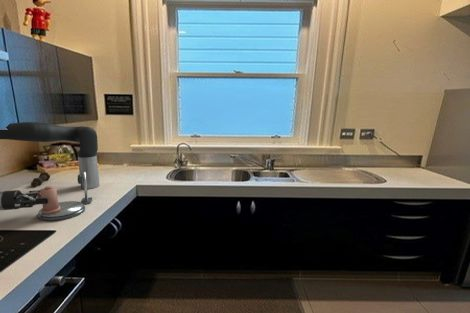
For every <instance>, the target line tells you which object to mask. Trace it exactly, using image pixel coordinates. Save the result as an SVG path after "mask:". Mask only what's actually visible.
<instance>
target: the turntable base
mask: <svg viewBox="0 0 470 313" xmlns="http://www.w3.org/2000/svg"><path fill="white" fill-rule="evenodd" d="M83 206H84V207H83V209H82V210H81V211H79V212H77V213H74V214H71V215H68V216H63V217H56V218H45V217H42V216H40V215H39V212H38V213H37V218H38V219H39V220H40V221H42V220H43V221H44V222H58V221H59V222H60V221H63V220H64V221H65V220H69V219H72V218H75V217H79V216H80V215H81V213H82V214H83V213H84V212H85V211H86V205H85V204H83ZM43 221H42V222H43Z"/></svg>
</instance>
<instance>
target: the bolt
mask: <svg viewBox="0 0 470 313" xmlns="http://www.w3.org/2000/svg"><path fill="white" fill-rule="evenodd" d="M50 178H51V175H50V174H49V173H48V172H46V171H45V172H44V171H43V172H40V174H39V175H38V177H34V178H33V179H32V181H31V183H30V186H31V187H32V188H36V187H38V186H39V187H40V186H41V185H42V184H43V182H45V181H46V182H47V181H49V180H50Z"/></svg>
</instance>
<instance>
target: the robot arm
mask: <svg viewBox="0 0 470 313" xmlns="http://www.w3.org/2000/svg"><path fill="white" fill-rule="evenodd" d="M6 128H7V129H8V130H0V140H9V141H10V140H11V141H12V140H13V141H19V142H20V141H22V142H35V143H38V142H39V143H51V142H52V143H53V142H59V141H64V142H75V143H78V144H79V150H78V151H77V162H78V169H79V170H78V172H79V174H83V173H82V172H85V173H86V183H87V190H88V189H96V188H99V187H100V176H99V175H100V174H99V173H100V172H99V166H98V164H99V163H98V150H99V149H98V148H99V145H98V141H99V140H98V135H97V131H96V130H95V129H94V128H93V127H91V126H90V127H89V126H85V125H84V126H83V125H81V126H64V125H58V124H54V123H46V122H37V121H25V122H24V121H23V122H20V121H19V122H11V123H10V124H9V125H8V126H7V127H6ZM83 189H84V183H83V184H82V190H83ZM40 190H41V189H39V190H29V191H28V192H25V193H23V192H22V191H21V190H19V189H16V190H12V189H11V190H0V211H11V210H19V209H22V208H23V209H26V208H27V209H28V208H29V209H30V208H33V207H35V206H37V205H42V204H47V203H48V198H41V191H40Z"/></svg>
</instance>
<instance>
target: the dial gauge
mask: <svg viewBox="0 0 470 313" xmlns="http://www.w3.org/2000/svg"><path fill="white" fill-rule="evenodd" d="M82 173H83V174H80V173H79V174H78V175H77V184H79V185H80V190H83V188H82V184H83V183H84V190H83V192H84V193H83V194H84V197H83V198H82V199H81V200H80V202H81V203H83V205H89V204H92V202H93V200H94V199H93V197H92V196H91V197H89V195H88V189H87V183H86V173H85V172H82Z"/></svg>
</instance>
